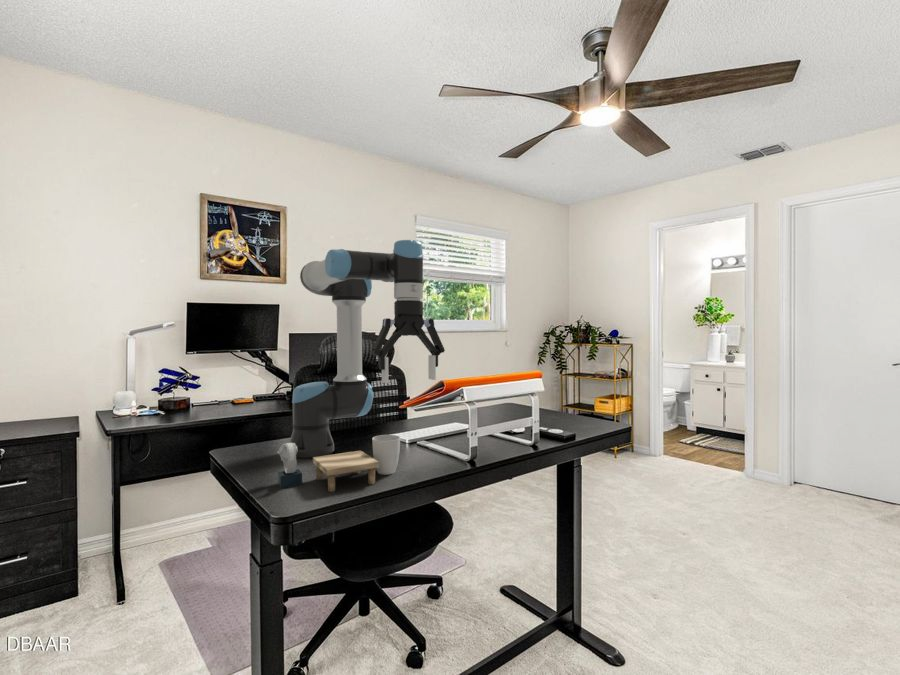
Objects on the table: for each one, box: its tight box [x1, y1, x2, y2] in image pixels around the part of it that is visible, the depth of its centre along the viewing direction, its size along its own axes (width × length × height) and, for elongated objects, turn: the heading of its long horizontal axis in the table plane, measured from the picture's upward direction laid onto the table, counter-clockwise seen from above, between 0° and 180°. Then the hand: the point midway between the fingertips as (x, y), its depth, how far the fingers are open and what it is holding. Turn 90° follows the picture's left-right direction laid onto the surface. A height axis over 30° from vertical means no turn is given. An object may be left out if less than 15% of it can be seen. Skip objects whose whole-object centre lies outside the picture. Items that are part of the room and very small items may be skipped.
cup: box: [371, 434, 401, 476], centre depth 139 cm, size 8×8×10 cm
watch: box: [277, 442, 303, 489], centre depth 129 cm, size 6×8×11 cm
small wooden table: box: [312, 450, 379, 493], centre depth 131 cm, size 14×14×6 cm
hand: (409, 381), depth 126 cm, fingers open, 13 cm apart
